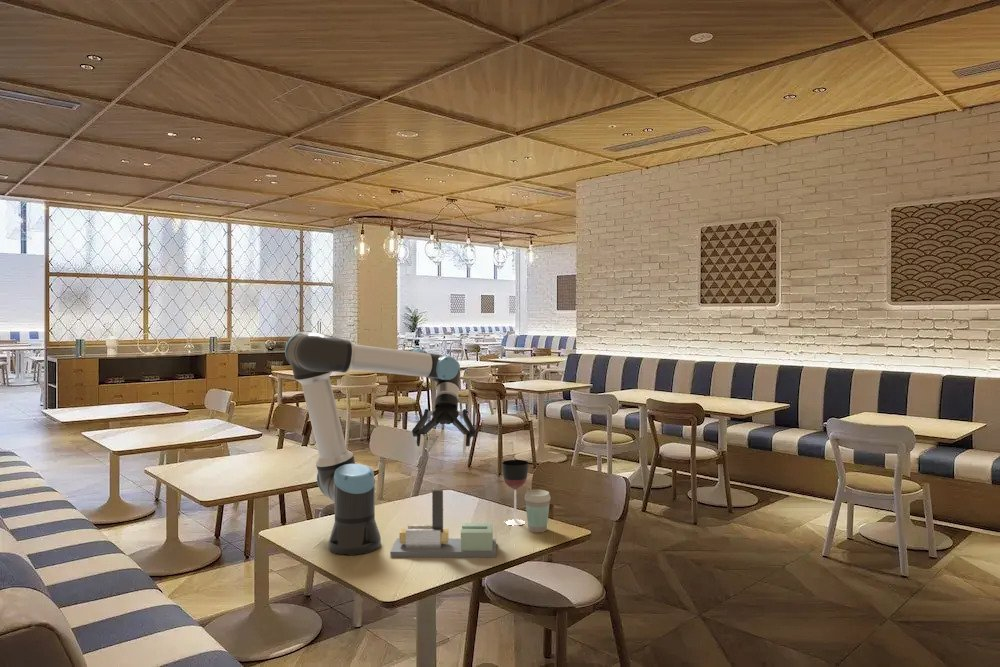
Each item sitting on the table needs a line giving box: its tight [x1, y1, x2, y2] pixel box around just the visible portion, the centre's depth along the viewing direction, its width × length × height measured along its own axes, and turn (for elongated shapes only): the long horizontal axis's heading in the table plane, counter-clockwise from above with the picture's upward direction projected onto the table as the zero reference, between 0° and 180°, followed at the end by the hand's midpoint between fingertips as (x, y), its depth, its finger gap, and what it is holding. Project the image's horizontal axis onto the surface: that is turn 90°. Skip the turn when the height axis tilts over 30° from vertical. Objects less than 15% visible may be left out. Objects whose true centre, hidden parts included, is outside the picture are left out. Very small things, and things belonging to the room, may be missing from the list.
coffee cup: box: [523, 489, 551, 533], centre depth 213 cm, size 9×8×12 cm
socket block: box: [460, 522, 494, 551], centre depth 195 cm, size 9×9×5 cm
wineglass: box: [501, 459, 529, 527], centre depth 220 cm, size 8×9×20 cm
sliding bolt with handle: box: [399, 489, 450, 544], centre depth 195 cm, size 14×3×15 cm, turn 90°
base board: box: [389, 537, 497, 558], centre depth 195 cm, size 30×11×2 cm, turn 90°
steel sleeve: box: [405, 524, 442, 548], centre depth 195 cm, size 10×5×5 cm, turn 90°
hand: (442, 454), depth 207 cm, fingers open, 13 cm apart
